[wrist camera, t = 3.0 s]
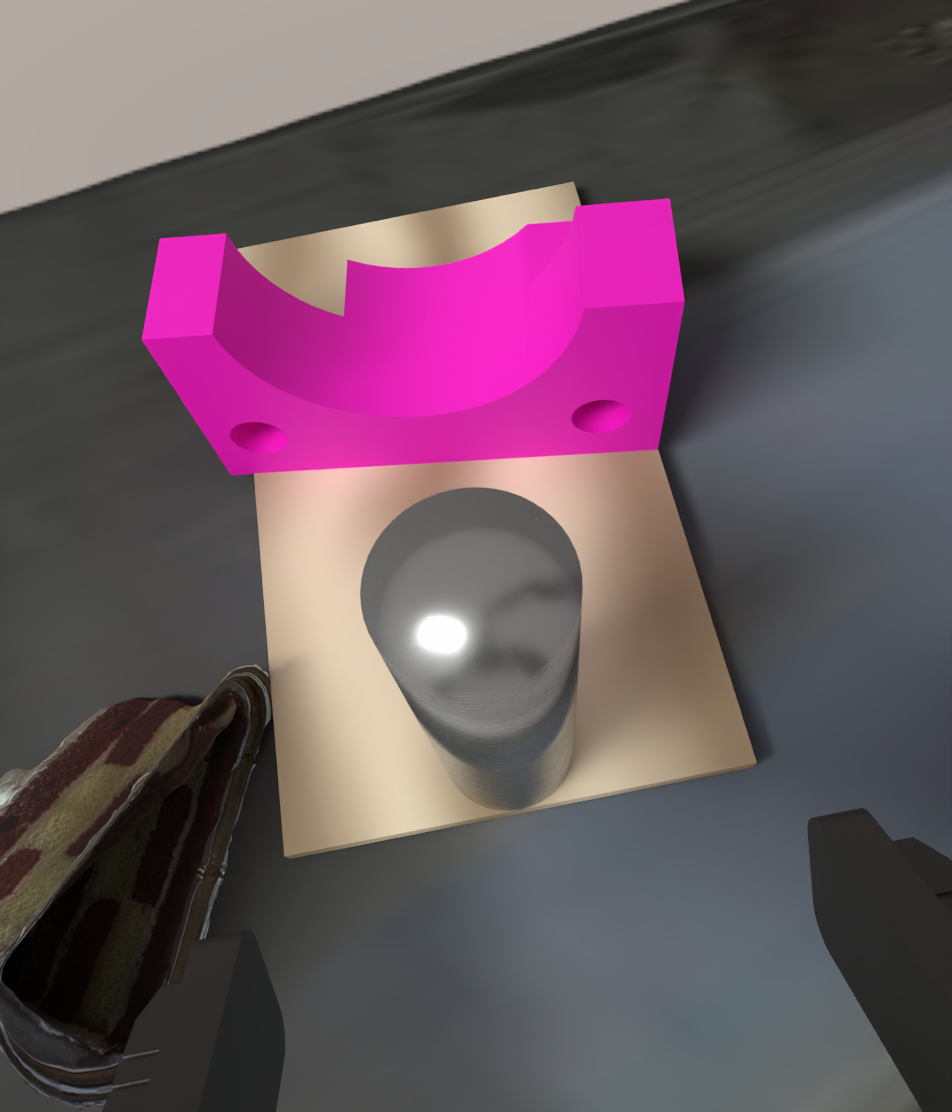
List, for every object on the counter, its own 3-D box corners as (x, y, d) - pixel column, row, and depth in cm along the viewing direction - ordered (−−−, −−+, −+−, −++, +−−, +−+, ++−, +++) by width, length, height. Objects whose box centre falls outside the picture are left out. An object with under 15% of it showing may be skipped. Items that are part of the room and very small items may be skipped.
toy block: (640, 307, 33) (660, 137, 27) (657, 450, 31) (684, 301, 24) (247, 334, 34) (170, 177, 28) (231, 475, 32) (141, 339, 25)
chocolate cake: (107, 633, 31) (-287, 827, 21) (273, 645, 28) (-89, 877, 18) (163, 869, 34) (-161, 1147, 23) (321, 902, 31) (30, 1237, 20)
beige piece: (573, 193, 37) (578, -156, 26) (753, 767, 26) (896, 609, 15) (240, 259, 37) (98, -59, 26) (290, 858, 27) (85, 771, 15)
